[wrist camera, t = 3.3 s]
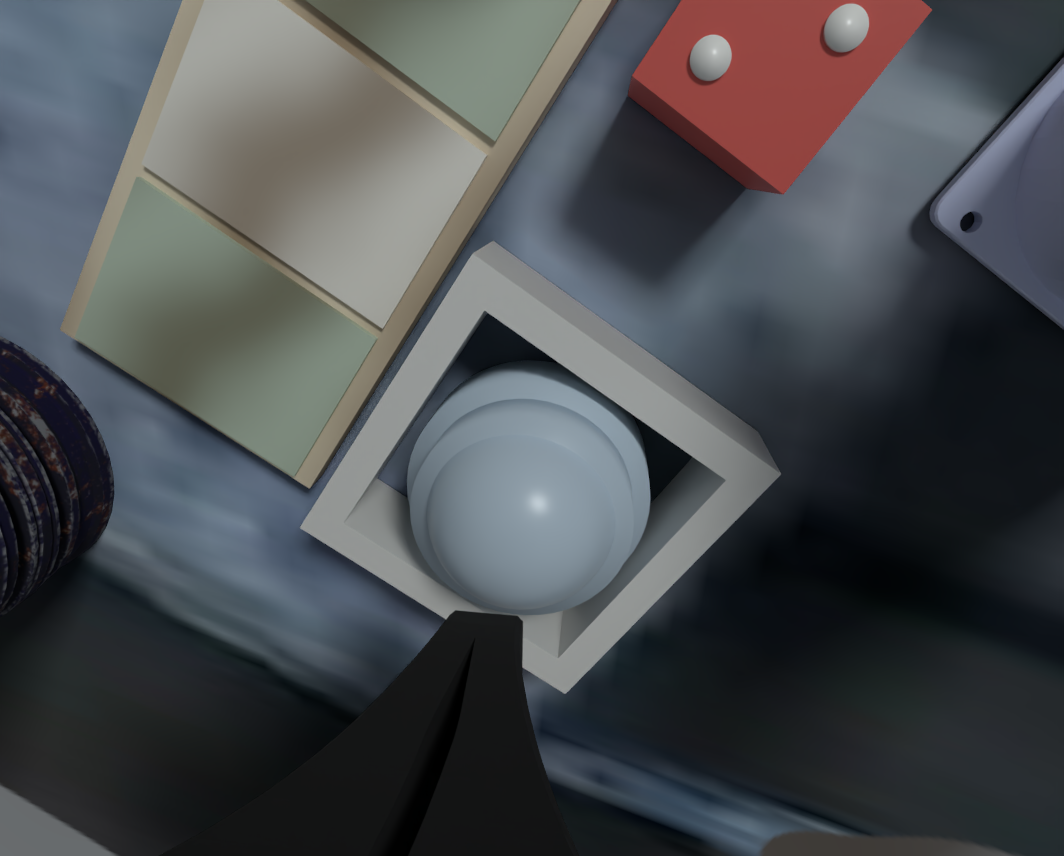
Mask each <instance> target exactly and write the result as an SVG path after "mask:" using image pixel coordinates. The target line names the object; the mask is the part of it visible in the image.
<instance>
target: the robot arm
mask: <svg viewBox="0 0 1064 856" xmlns="http://www.w3.org/2000/svg"><path fill="white" fill-rule="evenodd" d="M968 212H972V213H973V215H974V223H973V225H972V226H971V228H969V229H968V230H966V231H962V229H961V228H960V221H961V219H962V217H963V216H964V215H965V214H967V213H968ZM929 214H930V220H931V222H932V223H933V224H934V226H935V227H937V228H938V229H939V230H940V231H942V232H943V233H944V234H945V235H947V236H948V237H949V238H950V239H952V240H953V241H954V242H955V243H957V244H958V245H959V246H960V247H961V248H963V249H964V250H965V251H966V252H968V253H969V254H970V255H971V256H973V257H974V258H975V259H976V260H978V261H979V262H980V263H981V264H983V265H984V266H985V267H986V268H988V269H989V270H990V271H991V272H992V273H994V274H995V275H996V276H997V277H999V278H1000V279H1001V280H1002V281H1004V282H1005V283H1006V284H1007V285H1009V286H1010V287H1011V288H1012V289H1014V290H1015V291H1016V292H1017V293H1019V294H1020V295H1021V296H1022V297H1024V298H1025V299H1026V300H1027V301H1028V302H1030V303H1031V304H1032V305H1033V306H1035V307H1036V308H1037V309H1038V310H1040V311H1041V312H1042V313H1043V314H1045V315H1046V316H1047V317H1048V318H1050V319H1051V320H1052V321H1053V322H1055V323H1056V324H1057V325H1058V326H1059V327H1061V328H1062V329H1063V330H1064V57H1063V58H1062V59H1061V60H1060V61H1059V63H1058V64H1057V65H1056V66H1055V67H1054V68H1053V69H1052V70H1051V71H1050V72H1049V74H1048V75H1047V76H1046V77H1045V78H1044V79H1043V80H1042V81H1041V82H1040V84H1039V85H1038V86H1037V87H1036V88H1035V89H1034V90H1033V91H1032V92H1031V93H1030V95H1029V96H1028V97H1027V98H1026V99H1025V100H1024V101H1023V102H1022V103H1021V104H1020V106H1019V107H1018V108H1017V109H1016V110H1015V111H1014V112H1013V113H1012V114H1011V116H1010V117H1009V118H1008V119H1007V120H1006V121H1005V122H1004V123H1003V124H1002V125H1001V127H1000V128H999V129H998V130H997V131H996V132H995V133H994V134H993V135H992V136H991V138H990V139H989V140H988V141H987V142H986V143H985V144H984V145H983V146H982V147H981V149H980V150H979V151H978V152H977V153H976V154H975V155H974V156H973V157H972V159H971V160H970V161H969V162H968V163H967V164H966V165H965V166H964V167H963V168H962V170H961V171H960V172H959V173H958V174H957V175H956V176H955V177H954V178H953V179H952V181H951V182H950V183H949V184H948V185H947V186H946V187H945V188H944V189H943V191H942V192H941V193H940V194H939V195H938V196H937V197H936V198H935V200H934V201H933V203H932V205H931V208H930V212H929ZM522 661H523V621H522V620H521V619H520V618H519V617H518V616H515V615H503V614H492V613H481V612H470V611H458V610H455V611H454V612H453V613H451V614H450V615H449V616H448V618H447V619H446V620H445V622H444V623H443V624H442V626H441V627H440V628H439V629H438V631H437V632H436V633H435V634H434V636H433V637H432V638H431V639H430V641H429V642H428V643H427V644H426V645H425V647H424V648H423V649H422V650H421V651H420V653H419V654H418V655H417V656H416V657H415V658H414V660H413V661H412V662H411V663H410V664H409V665H408V666H407V667H406V668H405V670H404V671H403V672H402V673H401V674H400V675H399V676H398V677H397V678H396V680H395V681H394V682H393V683H392V684H391V685H390V686H389V687H388V688H387V689H386V690H385V691H384V692H383V693H382V694H381V695H380V696H379V697H378V698H377V699H376V700H375V701H374V702H373V703H372V704H371V705H370V706H369V707H368V708H367V709H366V710H365V711H364V712H363V713H362V714H361V715H360V716H359V717H358V718H357V719H356V720H355V721H353V722H352V723H351V724H350V725H349V726H348V727H347V728H346V729H345V730H344V731H342V732H341V733H340V734H339V735H338V736H337V737H336V738H334V739H333V740H332V741H331V742H330V743H328V744H327V745H326V746H325V747H324V748H323V749H321V750H320V751H319V752H318V753H316V754H315V755H314V756H313V757H311V758H310V759H309V760H308V761H306V762H305V763H304V764H302V765H301V766H300V767H298V768H297V769H296V770H295V771H293V772H292V773H291V774H289V775H288V776H287V777H285V778H284V779H283V780H281V781H280V782H279V783H277V784H276V785H274V786H273V787H272V788H270V789H269V790H267V791H266V792H265V793H263V794H262V795H260V796H259V797H257V798H256V799H254V800H252V801H251V802H249V803H248V804H246V805H245V806H243V807H242V808H240V809H239V810H237V811H235V812H234V813H232V814H231V815H229V816H228V817H226V818H225V819H223V820H221V821H220V822H218V823H216V824H215V825H213V826H212V827H210V828H208V829H206V830H205V831H203V832H201V833H200V834H198V835H196V836H194V837H193V838H191V839H189V840H187V841H185V842H183V843H182V844H180V845H178V846H176V847H174V848H172V849H171V850H169V851H167V852H165V853H163V854H161V855H159V856H579V855H578V852H577V850H576V848H575V845H574V843H573V841H572V838H571V836H570V834H569V831H568V829H567V827H566V825H565V822H564V820H563V818H562V815H561V813H560V810H559V808H558V805H557V803H556V800H555V797H554V794H553V792H552V789H551V786H550V784H549V781H548V778H547V775H546V771H545V768H544V765H543V762H542V759H541V756H540V753H539V749H538V746H537V742H536V738H535V734H534V730H533V726H532V723H531V719H530V714H529V709H528V705H527V699H526V694H525V688H524V682H523V676H522Z"/></svg>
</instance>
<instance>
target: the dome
mask: <svg viewBox="0 0 1064 856" xmlns="http://www.w3.org/2000/svg"><path fill="white" fill-rule="evenodd" d="M407 493H408V500H409V505H410V518H411V525H412V530H413V534H414V537H415V540H416V543H417V545H418V547H419V549H420V551H421V553H422V555H423V557H424V559H425V560H426V562H427V563H428V565H429V566H430V567H431V569H432V570H433V571H434V572H435V573H436V574H437V576H438V577H439V578H440V579H441V580H442V581H443V582H445V583H446V584H447V585H448V586H449V587H450V588H452V589H453V590H454V591H456V592H457V593H459V594H460V595H461V596H463V597H465V598H467V599H469V600H470V601H472V602H474V603H476V604H479V605H481V606H484V607H486V608H489V609H493V610H496V611H499V612H504V613H510V614H518V615H542V614H550V613H555V612H559V611H563V610H567V609H569V608H572V607H575V606H577V605H580V604H581V603H583V602H585V601H587V600H589V599H591V598H592V597H593V596H595V595H596V594H598V593H599V592H600V591H602V590H603V589H604V588H605V587H606V586H607V585H608V584H609V583H610V582H611V581H612V580H613V578H614V577H615V576H616V575H617V573H618V572H619V571H620V569H621V567H622V565H623V564H624V563H625V562H626V560H627V559H628V558H629V557H630V555H631V554H632V553H633V552H634V550H635V548H636V546H637V545H638V543H639V541H640V540H641V537H642V535H643V532H644V530H645V527H646V524H647V520H648V516H649V509H650V483H649V475H648V466H647V458H646V452H645V447H644V442H643V439H642V436H641V433H640V430H639V428H638V426H637V424H636V422H635V420H634V418H633V416H632V415H631V413H630V412H628V411H627V410H625V409H624V408H623V407H621V406H620V405H618V404H617V403H615V402H614V401H613V400H611V399H610V398H608V397H607V396H605V395H604V394H603V393H601V392H600V391H598V390H597V389H596V388H594V387H593V386H591V385H590V384H588V383H587V382H586V381H584V380H583V379H581V378H580V377H578V376H577V375H576V374H574V373H573V372H571V371H570V370H569V369H567V368H566V367H564V366H563V365H561V364H558V363H553V362H547V361H534V360H525V361H513V362H508V363H504V364H499V365H496V366H493V367H490V368H487V369H485V370H482V371H481V372H479V373H477V374H475V375H473V376H471V377H470V378H468V379H467V380H465V381H464V382H463V383H461V384H460V385H459V386H458V387H457V388H455V389H454V390H453V391H452V392H451V393H450V394H449V395H448V397H447V398H446V399H445V400H444V402H443V403H442V404H441V406H440V407H439V408H438V410H437V411H436V413H435V414H434V415H433V417H432V418H431V420H430V421H429V422H428V424H427V425H426V426H425V428H424V429H423V431H422V433H421V435H420V436H419V438H418V440H417V441H416V444H415V446H414V449H413V452H412V454H411V458H410V462H409V467H408V475H407Z"/></svg>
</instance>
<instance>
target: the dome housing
mask: <svg viewBox="0 0 1064 856" xmlns="http://www.w3.org/2000/svg"><path fill="white" fill-rule="evenodd" d="M487 313H489V314H490V315H492V316H493V317H495V318H496V319H497V320H499V321H500V322H502V323H503V324H505V325H506V326H507V327H509V328H510V329H512V330H513V331H514V332H516V333H517V334H519V335H520V336H522V337H523V338H524V339H526V340H527V341H529V342H530V343H532V344H533V345H534V346H536V347H537V348H539V349H540V350H541V351H543V352H544V353H546V354H547V355H549V356H550V357H551V358H553V359H554V360H556V361H557V362H559V363H560V364H561V365H563V366H564V367H566V368H567V369H569V370H570V371H571V372H573V373H574V374H576V375H577V376H578V377H580V378H581V379H583V380H584V381H586V382H587V383H588V384H590V385H591V386H593V387H594V388H596V389H597V390H598V391H600V392H601V393H603V394H604V395H605V396H607V397H608V398H610V399H611V400H613V401H614V402H615V403H617V404H618V405H620V406H621V407H623V408H624V409H625V410H627V411H628V412H630V413H631V414H633V415H634V416H635V417H637V418H638V419H640V420H641V421H642V422H644V423H645V424H647V425H648V426H650V427H651V428H652V429H654V430H655V431H657V432H658V433H660V434H661V435H662V436H664V437H665V438H667V439H668V440H669V441H671V442H672V443H674V444H675V445H677V446H678V447H679V448H681V449H682V450H684V451H685V452H687V453H688V454H689V455H691V456H692V458H691V460H690V461H689V462H688V463H687V464H686V465H685V466H684V467H683V468H682V470H681V471H680V472H679V473H678V474H677V475H676V476H675V477H674V478H673V480H672V481H671V482H670V483H669V484H668V485H667V486H666V487H665V488H664V490H663V491H662V492H661V493H660V494H659V495H658V496H657V497H656V498H655V500H654V501H653V502H652V503H651V504H650V509H649V516H648V520H647V524H646V527H645V530H644V532H643V535H642V537H641V540H640V541H639V543H638V545H637V546H636V548H635V550H634V552H633V553H632V554H631V555H630V557H629V558H628V559H627V560H626V562H625V563H624V564H623V565H622V567H621V569H620V571H619V572H618V573H617V575H616V576H615V577H614V578H613V580H612V581H611V582H610V583H609V584H608V585H607V586H606V587H605V588H604V589H603V590H602V591H600V592H599V593H598V594H596V595H595V596H593V597H592V598H591V599H589V600H587V601H585V602H583V603H581V604H580V605H577V606H575V607H572V608H569V609H567V610H563V611H559V612H555V613H550V614H542V615H518V614H510V613H504V612H499V611H496V610H493V609H489V608H486V607H484V606H481V605H479V604H476V603H474V602H472V601H470V600H469V599H467V598H465V597H463V596H461V595H460V594H459V593H457V592H456V591H454V590H453V589H452V588H450V587H449V586H448V585H447V584H446V583H445V582H443V581H442V580H441V579H440V578H439V577H438V576H437V574H436V573H435V572H434V571H433V570H432V569H431V567H430V566H429V565H428V563H427V562H426V560H425V559H424V557H423V555H422V553H421V551H420V549H419V547H418V545H417V543H416V540H415V537H414V534H413V530H412V525H411V518H410V505H409V500H408V498H407V497H405V496H404V495H402V494H401V493H399V492H398V491H396V490H394V489H393V488H391V487H390V486H388V485H387V484H385V483H384V482H382V481H381V480H379V479H377V478H378V476H379V475H380V473H381V472H382V470H383V469H384V467H385V466H386V464H387V463H388V461H389V460H390V458H391V457H392V455H393V454H394V452H395V451H396V449H397V448H398V446H399V445H400V443H401V442H402V440H403V439H404V437H405V436H406V434H407V433H408V431H409V430H410V428H411V427H412V425H413V424H414V422H415V421H416V419H417V418H418V416H419V415H420V413H421V412H422V410H423V409H424V407H425V406H426V404H427V403H428V401H429V400H430V398H431V397H432V395H433V394H434V392H435V391H436V389H437V388H438V386H439V385H440V383H441V382H442V380H443V379H444V377H445V376H446V374H447V373H448V371H449V370H450V368H451V367H452V365H453V364H454V362H455V361H456V359H457V358H458V356H459V355H460V353H461V352H462V350H463V349H464V347H465V346H466V344H467V343H468V341H469V340H470V338H471V337H472V335H473V334H474V332H475V331H476V329H477V328H478V326H479V325H480V323H481V322H482V320H483V319H484V317H485V316H486V314H487ZM780 475H781V473H780V471H779V469H778V467H777V465H776V464H775V462H774V460H773V458H772V456H771V455H770V453H769V451H768V449H767V447H766V445H765V444H764V442H763V440H762V438H761V436H760V435H759V433H758V431H756V430H755V429H754V428H752V427H751V426H749V425H748V424H747V423H745V422H744V421H743V420H741V419H740V418H738V417H737V416H736V415H734V414H733V413H731V412H730V411H729V410H727V409H726V408H725V407H723V406H722V405H720V404H719V403H718V402H716V401H715V400H713V399H712V398H711V397H709V396H708V395H706V394H705V393H704V392H702V391H701V390H700V389H698V388H697V387H695V386H694V385H693V384H691V383H690V382H688V381H687V380H686V379H684V378H683V377H681V376H680V375H679V374H677V373H676V372H675V371H673V370H672V369H670V368H669V367H668V366H666V365H665V364H663V363H662V362H661V361H659V360H658V359H657V358H655V357H654V356H652V355H651V354H650V353H648V352H647V351H645V350H644V349H643V348H641V347H640V346H638V345H637V344H636V343H634V342H633V341H632V340H630V339H629V338H627V337H626V336H625V335H623V334H622V333H620V332H619V331H618V330H616V329H615V328H613V327H612V326H611V325H609V324H608V323H607V322H605V321H604V320H602V319H601V318H600V317H598V316H597V315H595V314H594V313H593V312H591V311H590V310H589V309H587V308H586V307H584V306H583V305H582V304H580V303H579V302H577V301H576V300H575V299H573V298H572V297H570V296H569V295H568V294H566V293H565V292H564V291H562V290H561V289H559V288H558V287H557V286H555V285H554V284H552V283H551V282H550V281H548V280H547V279H545V278H544V277H543V276H541V275H540V274H539V273H537V272H536V271H534V270H533V269H532V268H530V267H529V266H527V265H526V264H525V263H523V262H522V261H521V260H519V259H518V258H516V257H515V256H514V255H512V254H511V253H509V252H508V251H507V250H505V249H504V248H502V247H501V246H500V245H498V244H497V243H496V242H494V241H492V242H490V243H489V244H487V245H486V246H484V247H482V248H481V249H479V250H478V251H476V252H474V253H473V254H472V255H471V257H470V258H469V260H468V262H467V263H466V265H465V266H464V268H463V270H462V271H461V273H460V274H459V276H458V278H457V279H456V281H455V282H454V284H453V285H452V287H451V289H450V290H449V292H448V293H447V295H446V297H445V298H444V300H443V301H442V303H441V305H440V306H439V308H438V309H437V311H436V312H435V314H434V316H433V317H432V319H431V320H430V322H429V324H428V325H427V327H426V328H425V330H424V331H423V333H422V335H421V336H420V338H419V339H418V341H417V343H416V344H415V346H414V347H413V349H412V351H411V352H410V354H409V355H408V357H407V358H406V360H405V362H404V363H403V365H402V366H401V368H400V370H399V371H398V373H397V374H396V376H395V378H394V379H393V381H392V382H391V384H390V385H389V387H388V389H387V390H386V392H385V393H384V395H383V397H382V398H381V400H380V401H379V403H378V404H377V406H376V408H375V409H374V411H373V412H372V414H371V416H370V417H369V419H368V420H367V422H366V424H365V425H364V427H363V428H362V430H361V431H360V433H359V435H358V436H357V438H356V439H355V441H354V443H353V444H352V446H351V447H350V449H349V451H348V452H347V454H346V455H345V457H344V458H343V460H342V462H341V463H340V465H339V466H338V468H337V470H336V471H335V473H334V474H333V476H332V477H331V479H330V481H329V482H328V484H327V485H326V487H325V489H324V490H323V492H322V493H321V495H320V497H319V498H318V500H317V501H316V503H315V504H314V506H313V508H312V509H311V511H310V512H309V514H308V516H307V517H306V519H305V520H304V522H303V524H302V525H301V527H300V528H301V529H302V530H304V531H306V532H307V533H309V534H310V535H312V536H314V537H315V538H317V539H318V540H320V541H322V542H323V543H325V544H326V545H328V546H330V547H331V548H333V549H334V550H336V551H338V552H339V553H341V554H342V555H344V556H346V557H347V558H349V559H350V560H352V561H354V562H355V563H357V564H358V565H360V566H362V567H363V568H365V569H366V570H368V571H369V572H371V573H373V574H374V575H376V576H377V577H379V578H381V579H382V580H384V581H385V582H387V583H389V584H390V585H392V586H393V587H395V588H397V589H398V590H400V591H401V592H403V593H405V594H406V595H408V596H409V597H411V598H413V599H414V600H416V601H417V602H419V603H421V604H422V605H424V606H425V607H427V608H429V609H430V610H432V611H433V612H435V613H437V614H438V615H440V616H441V617H443V618H445V619H447V618H448V616H449V615H450V614H451V613H453V612H454V611H455V610H458V611H470V612H481V613H492V614H503V615H515V616H518V617H519V618H520V619H521V620H522V621H523V661H522V667H523V668H524V669H526V670H528V671H529V672H531V673H532V674H534V675H536V676H537V677H539V678H540V679H542V680H544V681H545V682H547V683H548V684H550V685H551V686H553V687H555V688H556V689H558V690H559V691H561V692H563V693H564V694H566V693H567V692H568V691H569V690H570V689H571V688H572V687H573V686H574V685H575V684H576V683H577V682H578V681H579V680H580V679H581V678H582V677H583V676H584V675H585V674H586V673H587V672H588V671H589V669H590V668H591V667H592V666H593V665H594V664H595V663H596V662H597V661H598V660H599V659H600V658H601V657H602V656H603V655H604V654H605V653H606V652H607V651H608V650H609V649H610V648H611V647H612V646H613V645H614V644H615V643H616V642H617V641H618V640H619V639H620V638H621V637H622V636H623V635H624V634H625V633H626V632H627V631H628V630H629V629H630V628H631V627H632V626H633V625H634V624H635V623H636V622H637V621H638V620H639V619H640V618H641V617H642V616H643V615H644V613H645V612H646V611H647V610H648V609H649V608H650V607H651V606H652V605H653V604H654V603H655V602H656V601H657V600H658V599H659V598H660V597H661V596H662V595H663V594H664V593H665V592H666V591H667V590H668V589H669V588H670V587H671V586H672V585H673V584H674V583H675V582H676V581H677V580H678V579H679V578H680V577H681V576H682V575H683V574H684V573H685V572H686V571H687V570H688V569H689V568H690V567H691V566H692V565H693V564H694V563H695V562H696V561H697V560H698V559H699V558H700V556H701V555H702V554H703V553H704V552H705V551H706V550H707V549H708V548H709V547H710V546H711V545H712V544H713V543H714V542H715V541H716V540H717V539H718V538H719V537H720V536H721V535H722V534H723V533H724V532H725V531H726V530H727V529H728V528H729V527H730V526H731V525H732V524H733V523H734V522H735V521H736V520H737V519H738V518H739V517H740V516H741V515H742V514H743V513H744V512H745V511H746V510H747V509H748V508H749V507H750V506H751V505H752V504H753V503H754V502H755V500H756V499H757V498H758V497H759V496H760V495H761V494H762V493H763V492H764V491H765V490H766V489H767V488H768V487H769V486H770V485H771V484H772V483H773V482H774V481H775V480H776V479H777V478H778V477H779V476H780Z"/></svg>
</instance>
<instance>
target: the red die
mask: <svg viewBox="0 0 1064 856" xmlns="http://www.w3.org/2000/svg"><path fill="white" fill-rule="evenodd" d="M931 11H932V9H931V8H930V7H929V6H927V5H926V4H925V3H924V2H923V1H922V0H682V1H681V2H680V4H679V5H678V7H677V8H676V10H675V11H674V13H673V14H672V16H671V17H670V19H669V20H668V22H667V23H666V25H665V26H664V28H663V29H662V31H661V32H660V34H659V35H658V37H657V39H656V40H655V42H654V43H653V45H652V46H651V48H650V49H649V51H648V52H647V54H646V55H645V57H644V58H643V60H642V61H641V63H640V64H639V66H638V67H637V69H636V70H635V72H634V73H633V75H632V78H631V82H630V87H629V91H628V96H629V97H630V98H631V99H633V100H634V101H635V102H637V103H638V104H639V105H640V106H642V107H643V108H644V109H646V110H647V111H648V112H649V113H651V114H652V115H653V116H655V117H656V118H657V119H658V120H660V121H661V122H662V123H664V124H665V125H666V126H667V127H669V128H670V129H671V130H673V131H674V132H675V133H676V134H678V135H679V136H680V137H681V138H683V139H684V140H685V141H687V142H688V143H689V144H690V145H692V146H693V147H694V148H696V149H697V150H698V151H699V152H701V153H702V154H703V155H705V156H706V157H707V158H708V159H710V160H711V161H712V162H714V163H715V164H716V165H717V166H719V167H720V168H721V169H723V170H724V171H725V172H726V173H728V174H729V175H730V176H732V177H733V178H734V179H735V180H737V181H738V182H739V183H741V184H742V185H743V186H744V187H746V188H747V189H753V190H759V191H765V192H771V193H777V194H784V193H785V192H786V191H787V189H788V188H789V187H790V186H791V184H792V183H793V182H794V181H795V179H796V178H797V177H798V176H799V174H800V173H801V172H802V171H803V169H804V168H805V167H806V166H807V165H808V163H809V162H810V161H811V160H812V158H813V157H814V156H815V155H816V153H817V152H818V151H819V150H820V148H821V147H822V146H823V145H824V143H825V142H826V141H827V140H828V138H829V137H830V136H831V135H832V134H833V132H834V131H835V130H836V129H837V127H838V126H839V125H840V124H841V122H842V121H843V120H844V119H845V117H846V116H847V115H848V114H849V112H850V111H851V110H852V109H853V107H854V106H855V105H856V104H857V103H858V101H859V100H860V99H861V98H862V96H863V95H864V94H865V93H866V91H867V90H868V89H869V88H870V86H871V85H872V84H873V83H874V81H875V80H876V79H877V78H878V76H879V75H880V74H881V73H882V72H883V70H884V69H885V68H886V67H887V65H888V64H889V63H890V62H891V60H892V59H893V58H894V57H895V55H896V54H897V53H898V52H899V50H900V49H901V48H902V47H903V45H904V44H905V43H906V42H907V41H908V39H909V38H910V37H911V36H912V34H913V33H914V32H915V31H916V29H917V28H918V27H919V26H920V24H921V23H922V22H923V21H924V19H925V18H926V17H927V16H928V14H929V13H930V12H931Z"/></svg>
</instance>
